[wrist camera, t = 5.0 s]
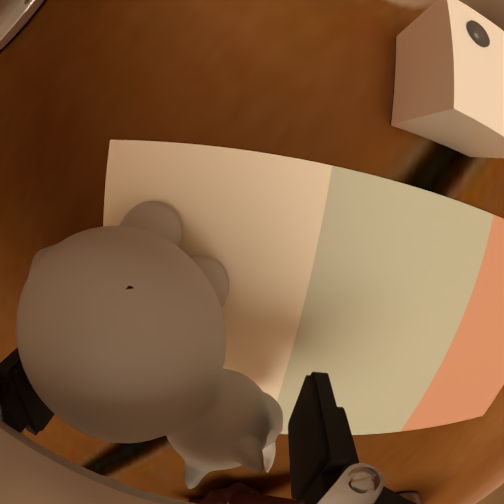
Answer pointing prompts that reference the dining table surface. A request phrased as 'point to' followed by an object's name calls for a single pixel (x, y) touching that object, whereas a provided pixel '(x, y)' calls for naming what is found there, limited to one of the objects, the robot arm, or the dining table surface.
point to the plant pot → (412, 497)
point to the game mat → (336, 278)
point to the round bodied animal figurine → (142, 345)
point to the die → (451, 80)
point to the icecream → (240, 496)
